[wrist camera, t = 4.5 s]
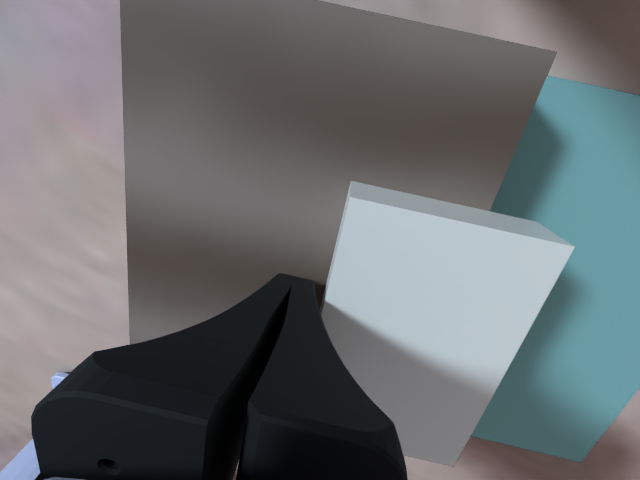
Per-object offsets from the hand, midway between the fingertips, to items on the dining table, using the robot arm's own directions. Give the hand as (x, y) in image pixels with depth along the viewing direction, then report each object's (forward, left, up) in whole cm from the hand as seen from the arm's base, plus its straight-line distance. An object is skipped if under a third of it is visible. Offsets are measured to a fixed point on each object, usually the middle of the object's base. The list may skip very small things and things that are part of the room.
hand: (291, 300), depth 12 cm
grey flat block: (0, +1, -5) cm, 5 cm away
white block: (0, -4, -1) cm, 4 cm away
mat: (0, -11, -5) cm, 12 cm away
